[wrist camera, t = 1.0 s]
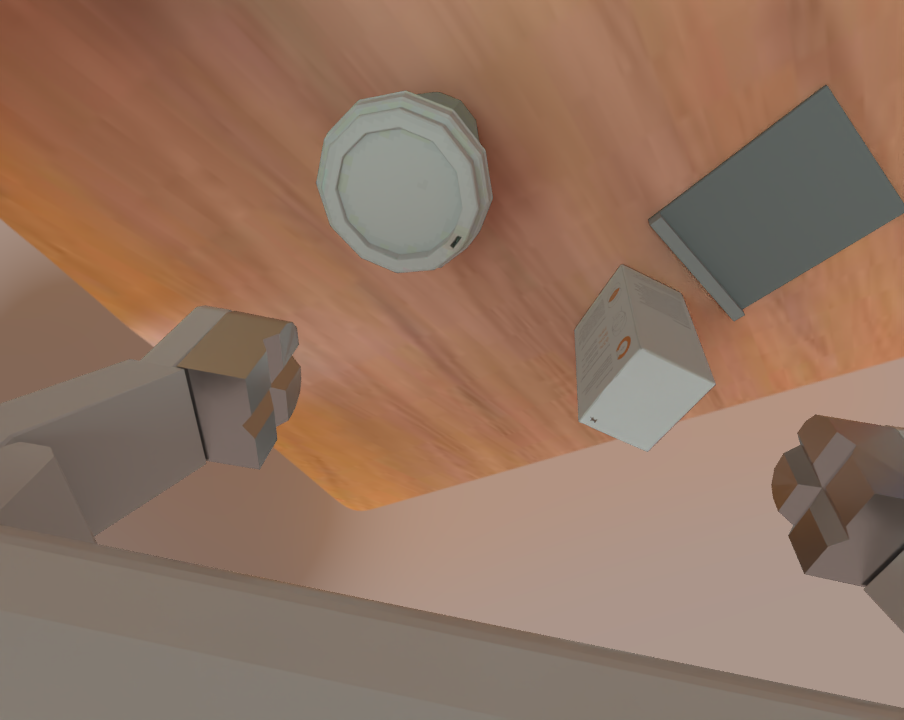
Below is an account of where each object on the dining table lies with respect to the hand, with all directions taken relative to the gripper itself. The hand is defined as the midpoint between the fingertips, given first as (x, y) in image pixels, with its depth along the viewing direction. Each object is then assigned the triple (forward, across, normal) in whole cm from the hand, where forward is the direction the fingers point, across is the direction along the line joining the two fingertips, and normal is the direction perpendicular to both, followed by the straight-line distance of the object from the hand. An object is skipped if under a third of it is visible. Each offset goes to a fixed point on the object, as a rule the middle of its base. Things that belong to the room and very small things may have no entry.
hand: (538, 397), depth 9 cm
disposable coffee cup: (+38, -7, -6) cm, 39 cm away
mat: (+38, +19, -8) cm, 43 cm away
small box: (+38, +11, -19) cm, 44 cm away
